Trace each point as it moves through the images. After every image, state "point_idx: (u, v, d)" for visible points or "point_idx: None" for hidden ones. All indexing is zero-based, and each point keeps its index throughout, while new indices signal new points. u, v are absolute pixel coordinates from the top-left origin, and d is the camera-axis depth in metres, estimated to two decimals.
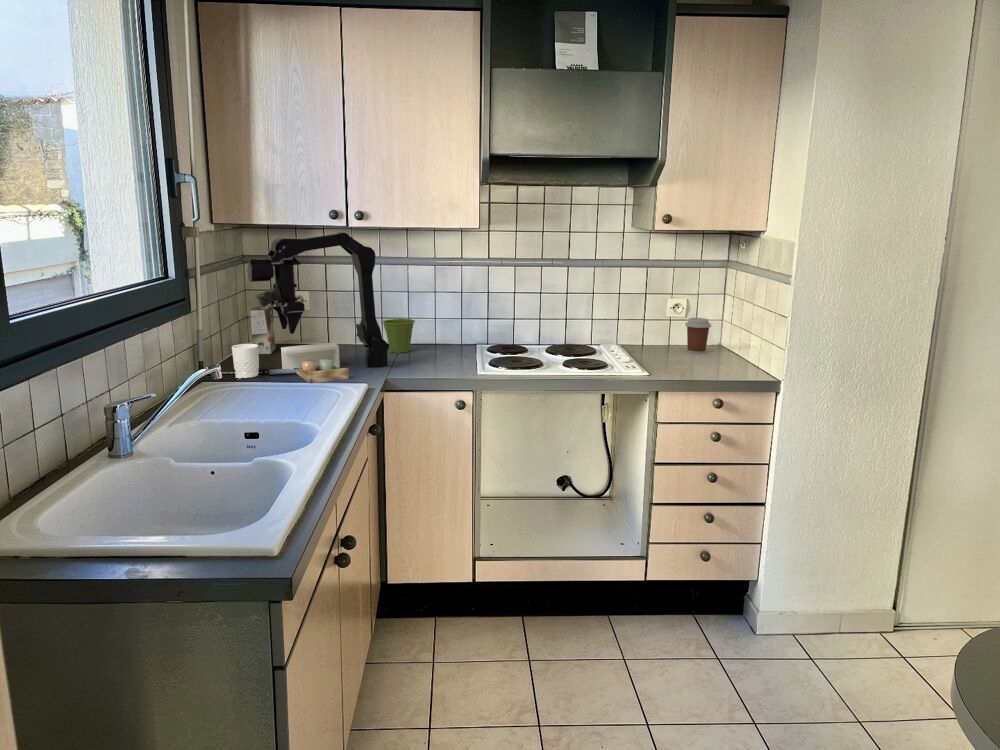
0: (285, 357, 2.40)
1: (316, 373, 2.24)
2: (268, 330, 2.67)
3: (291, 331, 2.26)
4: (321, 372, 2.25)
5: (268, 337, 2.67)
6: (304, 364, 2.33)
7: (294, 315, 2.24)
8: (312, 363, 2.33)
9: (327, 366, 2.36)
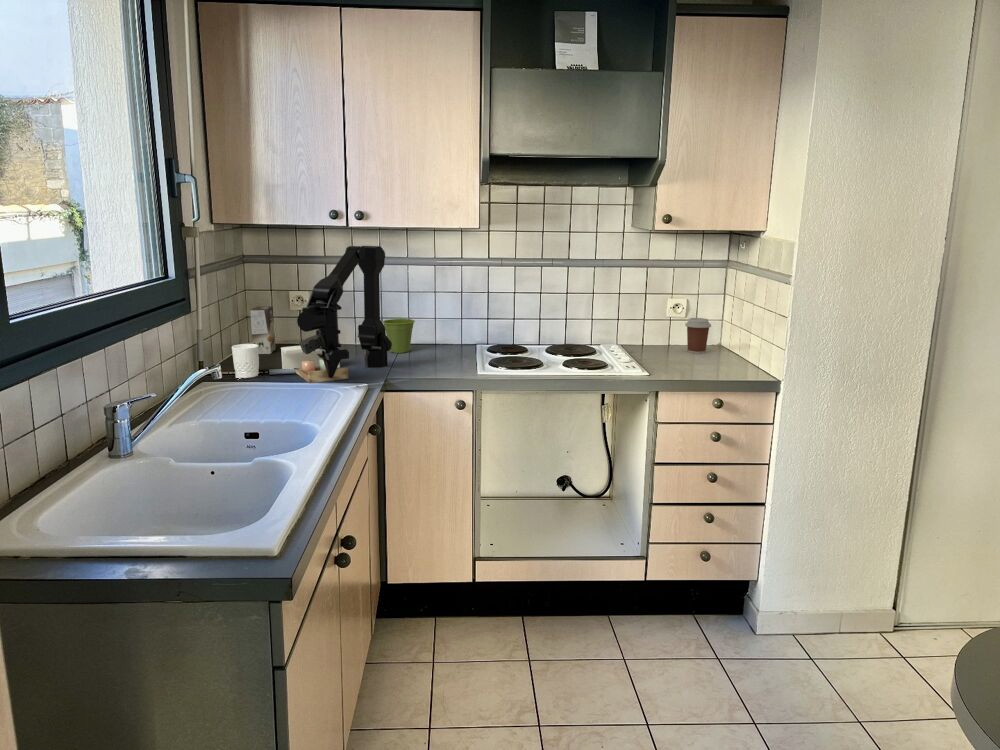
0: (285, 357, 2.40)
1: (316, 373, 2.24)
2: (268, 330, 2.67)
3: (330, 376, 2.25)
4: (321, 372, 2.25)
5: (268, 337, 2.67)
6: (304, 364, 2.33)
7: (333, 360, 2.23)
8: (312, 363, 2.34)
9: None
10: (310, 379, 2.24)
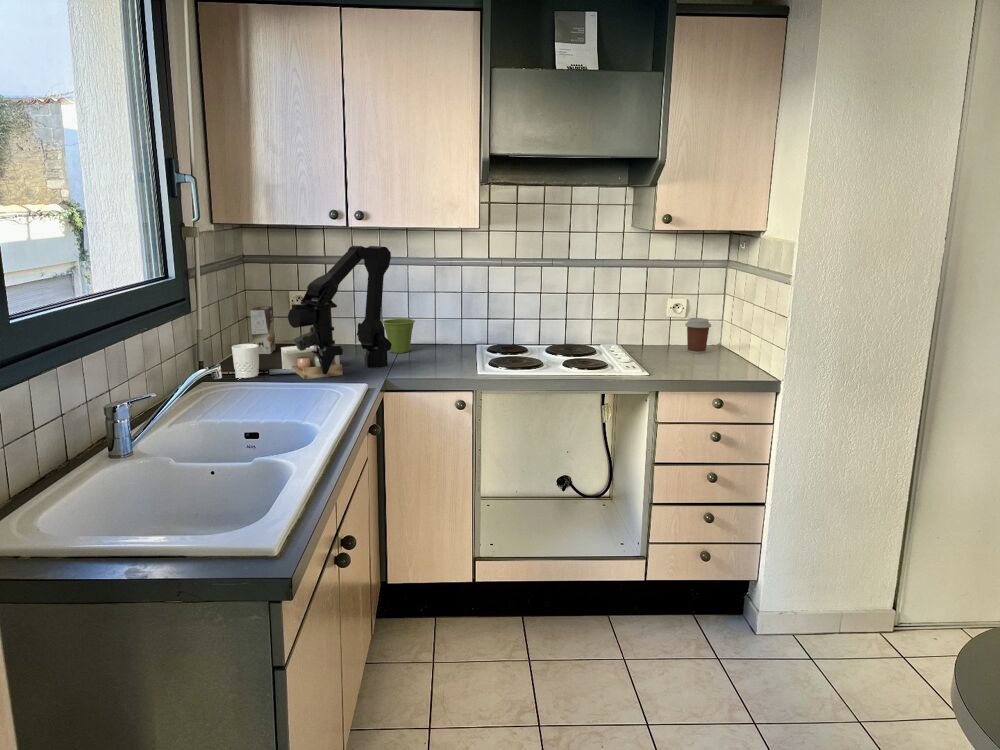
0: (285, 357, 2.40)
1: (310, 369, 2.29)
2: (268, 330, 2.67)
3: (324, 372, 2.30)
4: (315, 368, 2.30)
5: (268, 337, 2.67)
6: (299, 360, 2.38)
7: (327, 356, 2.28)
8: (307, 359, 2.38)
9: None
10: (305, 375, 2.29)
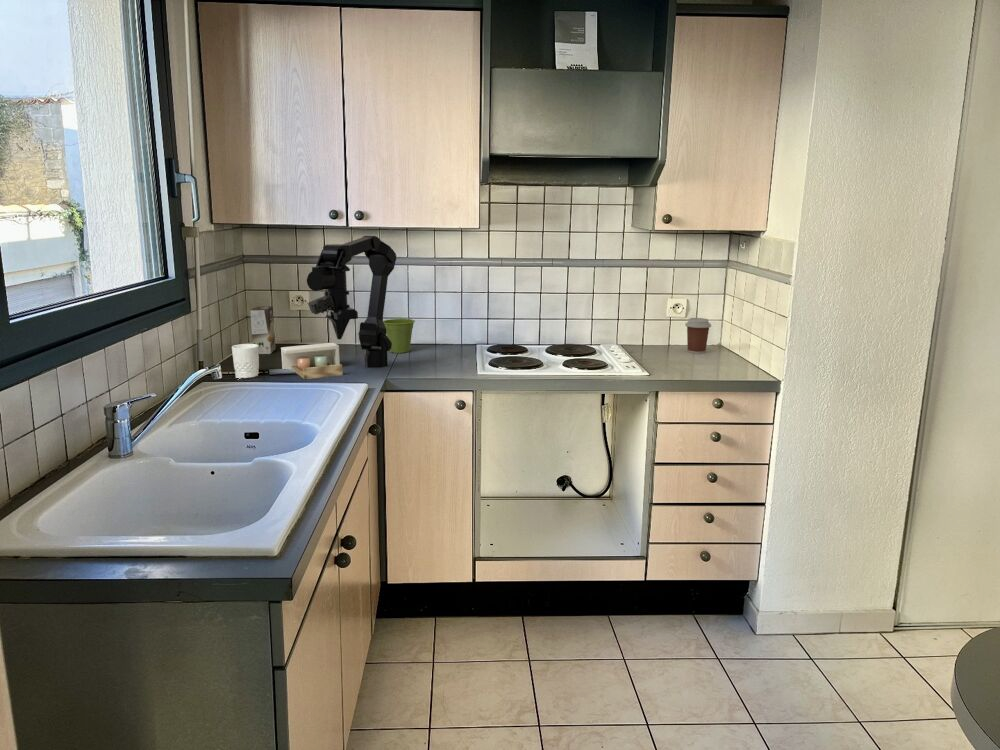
0: (285, 357, 2.40)
1: (310, 369, 2.29)
2: (268, 330, 2.67)
3: (338, 337, 2.26)
4: (315, 368, 2.30)
5: (268, 337, 2.67)
6: (299, 360, 2.38)
7: (342, 321, 2.25)
8: (307, 359, 2.38)
9: (321, 362, 2.41)
10: (305, 375, 2.29)
